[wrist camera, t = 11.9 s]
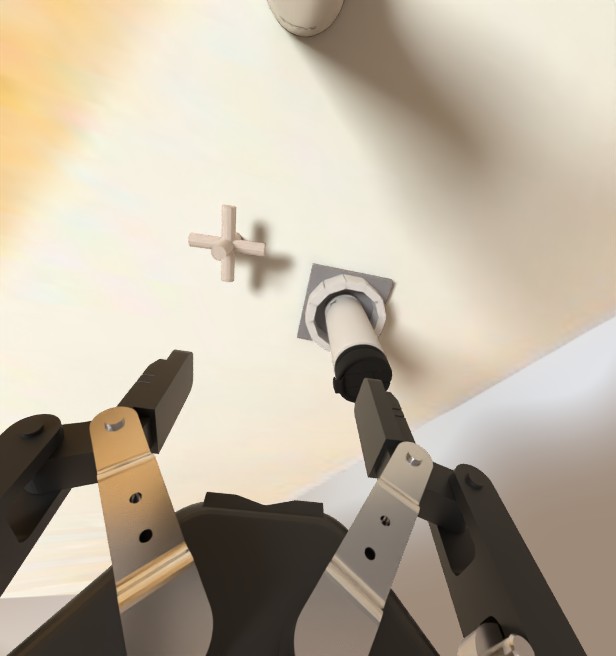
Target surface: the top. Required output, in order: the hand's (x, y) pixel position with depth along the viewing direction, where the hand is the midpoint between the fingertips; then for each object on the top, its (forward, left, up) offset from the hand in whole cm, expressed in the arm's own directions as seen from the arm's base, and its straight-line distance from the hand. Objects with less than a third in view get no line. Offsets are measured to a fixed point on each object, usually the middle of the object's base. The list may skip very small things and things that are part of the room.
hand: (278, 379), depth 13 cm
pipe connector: (+1, -9, -35) cm, 36 cm away
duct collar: (+9, +10, -35) cm, 37 cm away
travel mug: (+9, +10, -34) cm, 36 cm away
